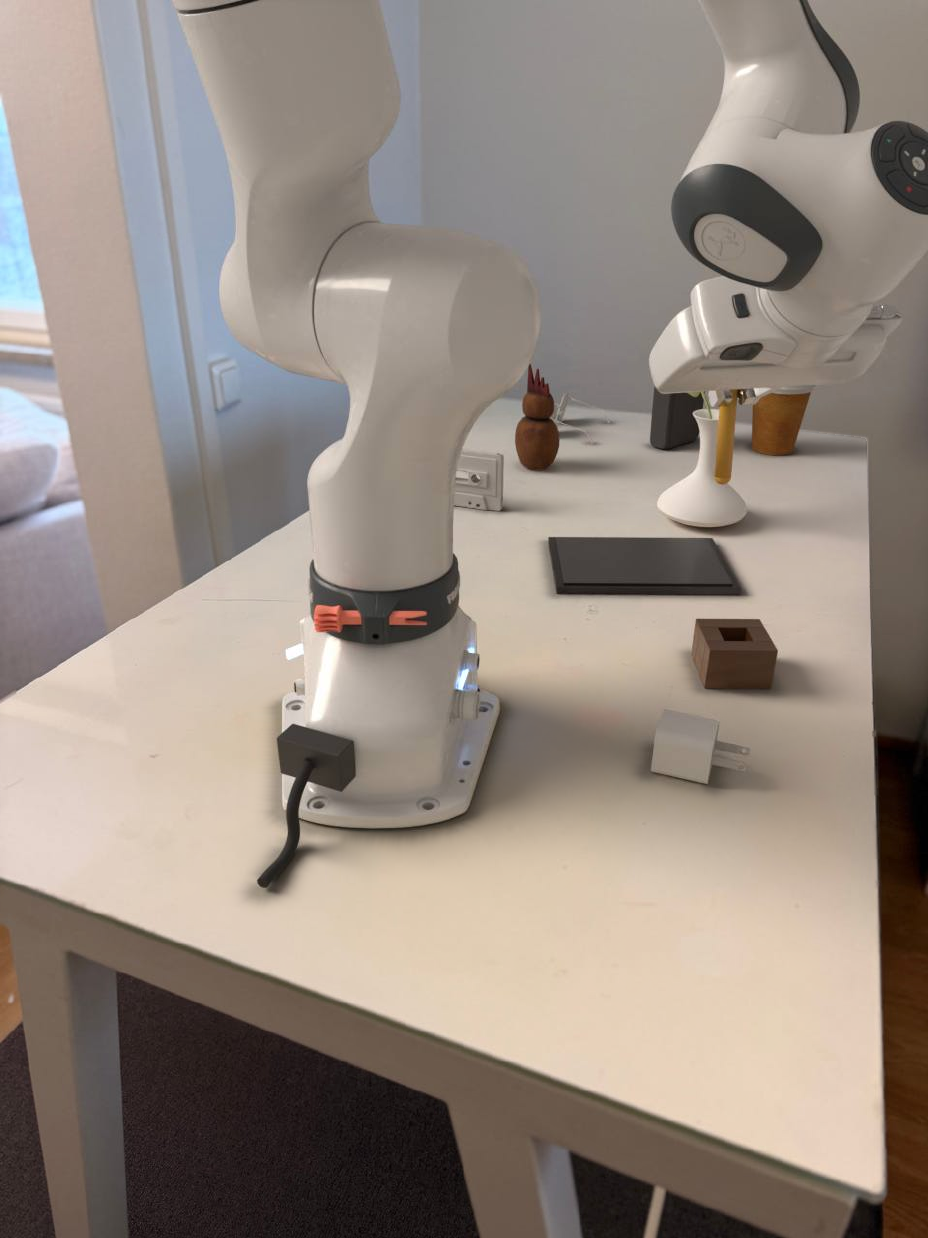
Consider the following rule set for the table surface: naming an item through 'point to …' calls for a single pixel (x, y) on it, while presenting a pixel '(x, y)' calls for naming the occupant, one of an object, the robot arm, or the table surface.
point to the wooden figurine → (537, 426)
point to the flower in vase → (703, 484)
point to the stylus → (725, 440)
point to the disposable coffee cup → (779, 419)
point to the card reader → (674, 419)
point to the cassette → (480, 480)
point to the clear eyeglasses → (562, 410)
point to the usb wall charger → (690, 747)
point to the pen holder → (733, 653)
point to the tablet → (640, 566)
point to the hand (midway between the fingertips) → (730, 399)
